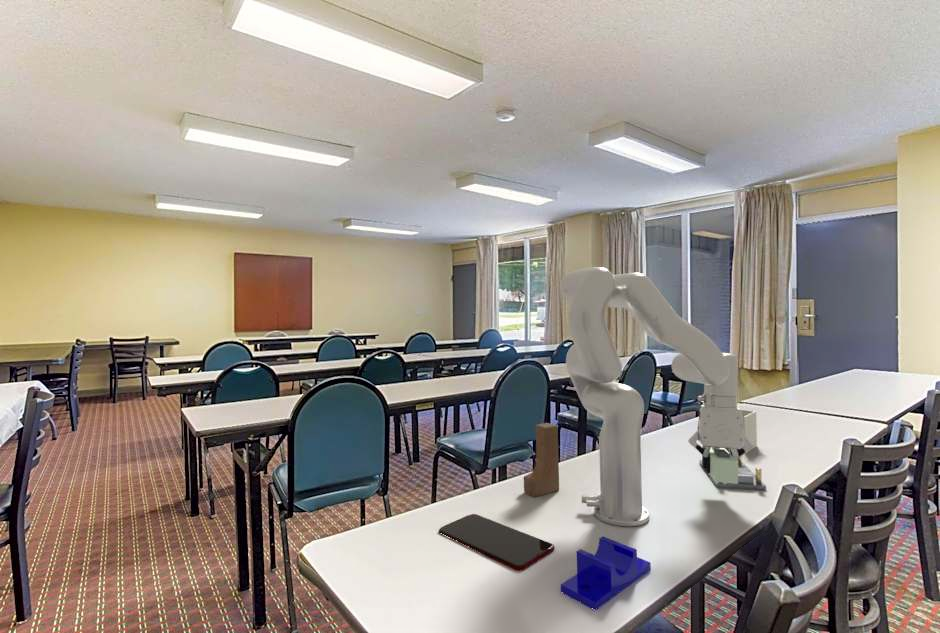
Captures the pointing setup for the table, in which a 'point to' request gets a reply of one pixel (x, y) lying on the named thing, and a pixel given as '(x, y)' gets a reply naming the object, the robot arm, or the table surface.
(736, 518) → the table surface
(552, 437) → the wooden block
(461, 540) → the smartphone
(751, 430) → the staircase
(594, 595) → the mounting bracket
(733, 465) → the pale green block
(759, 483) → the chassis
